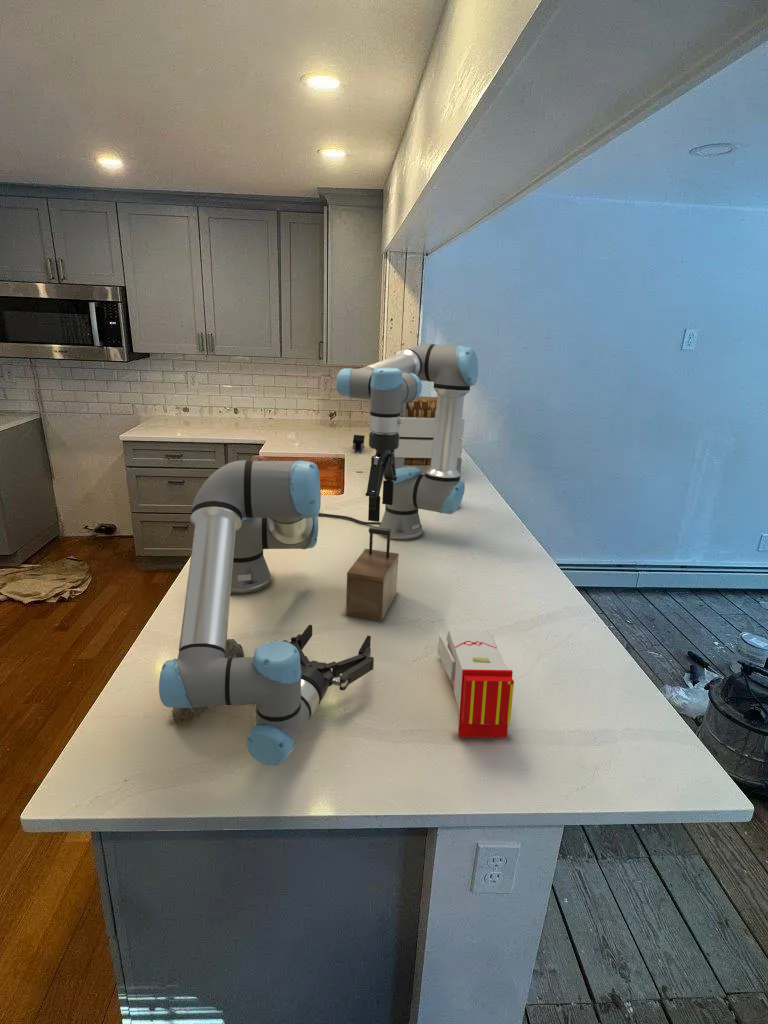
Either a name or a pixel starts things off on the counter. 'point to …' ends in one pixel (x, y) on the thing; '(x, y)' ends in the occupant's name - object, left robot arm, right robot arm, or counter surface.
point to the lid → (374, 560)
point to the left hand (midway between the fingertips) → (339, 635)
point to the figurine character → (358, 442)
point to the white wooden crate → (419, 433)
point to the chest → (371, 596)
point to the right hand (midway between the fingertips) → (380, 512)
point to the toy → (478, 682)
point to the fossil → (194, 713)
